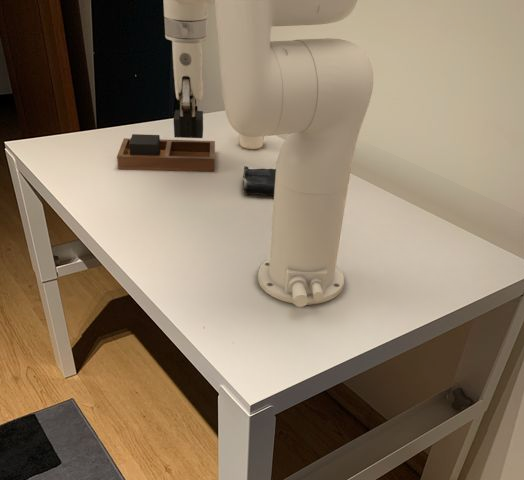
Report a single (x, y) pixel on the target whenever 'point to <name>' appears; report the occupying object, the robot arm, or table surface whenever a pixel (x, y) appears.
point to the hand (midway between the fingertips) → (189, 130)
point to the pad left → (144, 144)
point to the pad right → (198, 118)
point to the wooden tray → (171, 156)
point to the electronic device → (259, 181)
